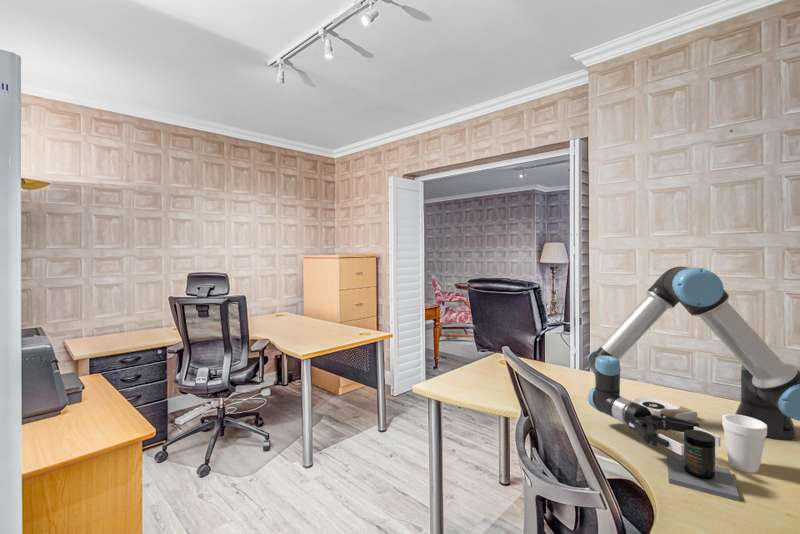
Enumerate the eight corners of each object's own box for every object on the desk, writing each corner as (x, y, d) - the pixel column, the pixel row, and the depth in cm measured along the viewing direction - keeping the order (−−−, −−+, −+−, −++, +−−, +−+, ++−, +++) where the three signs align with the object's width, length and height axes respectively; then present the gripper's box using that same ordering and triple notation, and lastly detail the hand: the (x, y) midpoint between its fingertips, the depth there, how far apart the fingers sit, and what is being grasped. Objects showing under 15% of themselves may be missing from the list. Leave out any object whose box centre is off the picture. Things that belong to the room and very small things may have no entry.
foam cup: (754, 479, 101) (755, 431, 100) (714, 462, 109) (715, 417, 109) (773, 470, 105) (774, 424, 104) (733, 454, 113) (733, 411, 113)
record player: (674, 415, 134) (627, 395, 154) (674, 423, 134) (627, 403, 154) (699, 411, 137) (650, 392, 157) (699, 419, 137) (650, 399, 157)
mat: (729, 473, 104) (729, 468, 104) (739, 501, 92) (739, 496, 92) (667, 458, 112) (667, 454, 112) (668, 482, 100) (668, 478, 100)
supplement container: (716, 483, 97) (716, 444, 97) (683, 475, 101) (683, 436, 101) (715, 471, 103) (715, 433, 102) (683, 463, 107) (683, 427, 106)
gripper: (661, 419, 125) (733, 451, 105) (600, 431, 118) (666, 468, 98) (661, 397, 125) (734, 425, 105) (600, 407, 118) (666, 439, 97)
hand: (701, 446), depth 101 cm, fingers open, 13 cm apart
